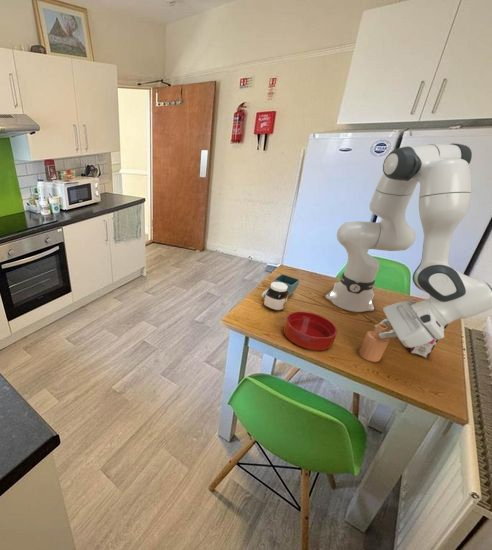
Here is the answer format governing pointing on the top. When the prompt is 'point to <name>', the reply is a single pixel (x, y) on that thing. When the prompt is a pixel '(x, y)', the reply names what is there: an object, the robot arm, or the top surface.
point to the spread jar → (276, 296)
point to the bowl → (310, 330)
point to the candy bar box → (425, 347)
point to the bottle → (374, 344)
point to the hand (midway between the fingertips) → (377, 332)
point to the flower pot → (288, 282)
